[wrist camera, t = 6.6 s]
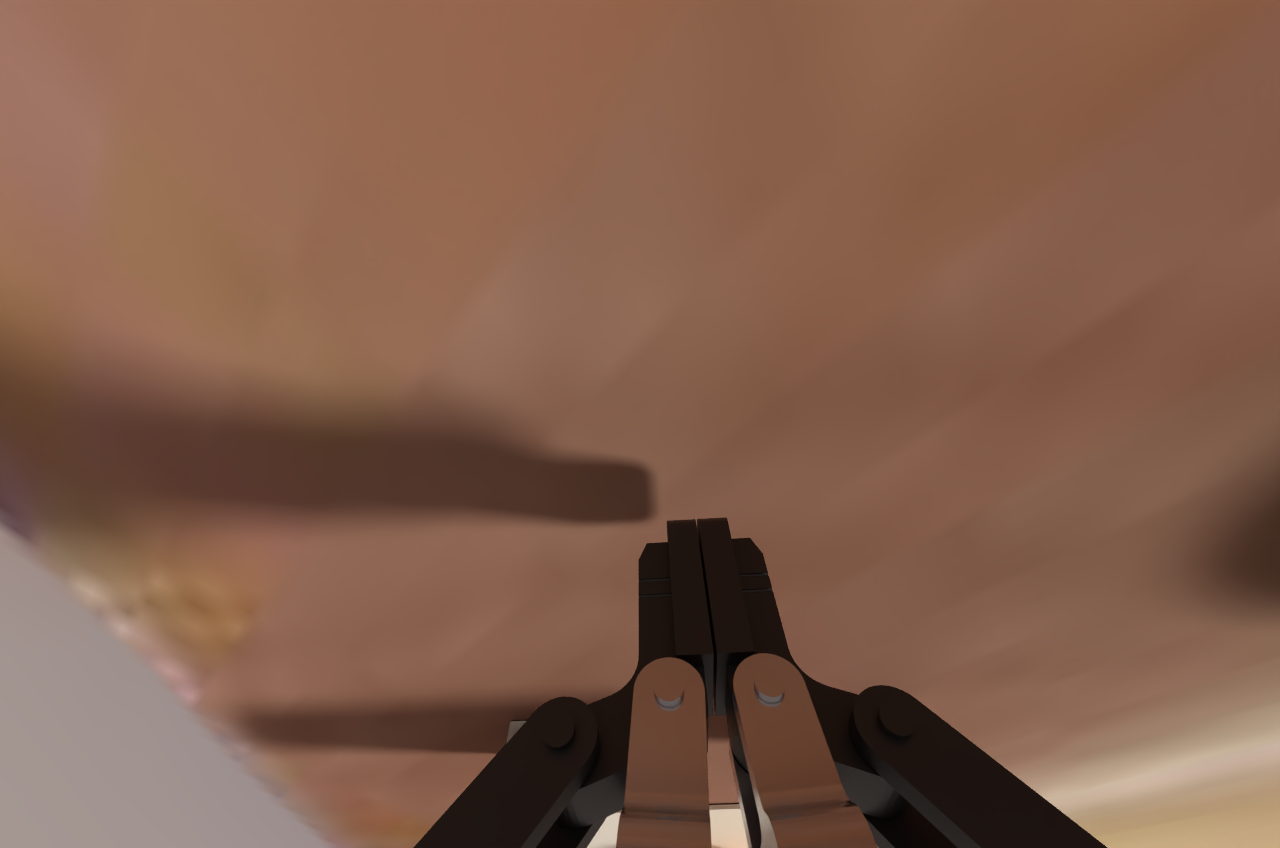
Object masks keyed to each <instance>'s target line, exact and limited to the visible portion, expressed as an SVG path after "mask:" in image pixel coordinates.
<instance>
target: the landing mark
mask: <svg viewBox="0 0 1280 848" xmlns="http://www.w3.org/2000/svg"><path fill="white" fill-rule="evenodd" d="M621 811H622V810H621ZM621 811H619V812H617V813H615V814H612V815H610V816H608V817H607V818H606V819H605V821H604V823H603V824H602V826H601V827H600V829H599V830H598V832H597V833H596V835H595V836H594V838H593V839H592V841H591V842H590V844H589V845H588V847H587V848H616V842H617V832H618V824H619V818H620V814H621ZM709 812H710V824H711V846H712V848H748V843H747V838H746V833H745V828H744V824H743V819H742V814H741V809H740V804H727V805H709Z"/></svg>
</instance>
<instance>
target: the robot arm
mask: <svg viewBox="0 0 1280 848" xmlns="http://www.w3.org/2000/svg"><path fill="white" fill-rule="evenodd" d="M667 535H668V542H663V543H647V544H646V546H645V548H644V550H643V552H642V554H641V557H640V559H639V661H638V665H637V668H636V671H635V673H634V675H633V677H632V678H631V680H630V681H629V682H628V683H627V685H625V686H624V687H623V688H622V689H621V690H619V691H618V692H616V693H615V694H613V695H611V696H608V697H606V698H603V699H601V700H598V701H596V702H593V703H591V704H588V705H587V704H586V703H584V702H583V701H581V700H579V699H576V698H572V697H559V698H555V699H552V700H550V701H548V702H546V703H544V704H543V705H542V706H540V707H539V708H538V709H537V710H536V711H535V712H534V713H533V714H532V715H531V716H530V718H529V719H528V720H527V721H526V722H525V723H524V724H523V725H522V726H521V728H520V729H519V730H518V731H517V732H516V733H515V734H514V735H513V737H512V738H511V739H510V740H509V741H508V742H507V743H506V744H505V746H504V747H503V748H502V749H501V750H500V751H499V752H498V753H497V755H496V756H495V757H494V758H493V759H492V760H491V761H490V762H489V764H488V765H487V766H486V767H485V768H484V769H483V770H482V771H481V773H480V774H479V775H478V776H477V777H476V778H475V779H474V780H473V782H472V783H471V784H470V785H469V786H468V787H467V788H466V789H465V791H464V792H463V793H462V794H461V795H460V796H459V797H458V798H457V799H456V801H455V802H454V803H453V804H452V805H451V806H450V807H449V808H448V810H447V811H446V812H445V813H444V814H443V815H442V816H441V817H440V819H439V820H438V821H437V822H436V823H435V824H434V825H433V826H432V828H431V829H430V830H429V831H428V832H427V833H426V834H425V835H424V837H423V838H422V839H421V840H420V841H419V842H418V843H417V844H416V846H415V847H414V848H587V847H588V845H589V844H590V842H591V841H592V839H593V838H594V836H595V835H596V833H597V832H598V830H599V829H600V827H601V826H602V824H603V823H604V821H605V819H606V818H607V817H608V816H610V815H612V814H615V813H617V812H619V811H621V810H622V811H621V814H620V818H619V824H618V832H617V842H616V848H712V846H711V824H710V812H709V789H708V762H707V752H708V716H712V711H713V700H714V708H715V715H726V717H727V724H728V731H729V738H730V742H729V755H730V761H731V766H732V770H733V775H734V780H735V785H736V790H737V795H738V799H739V804H740V809H741V814H742V819H743V824H744V828H745V833H746V838H747V843H748V848H877V846H878V847H879V848H1107V847H1106V846H1105V845H1103V844H1102V843H1101V842H1099V841H1098V840H1097V839H1096V838H1094V837H1093V836H1092V835H1090V834H1089V833H1088V832H1087V831H1085V830H1084V829H1083V828H1081V827H1080V826H1079V825H1078V824H1076V823H1075V822H1074V821H1072V820H1071V819H1070V818H1069V817H1067V816H1066V815H1065V814H1063V813H1062V812H1061V811H1060V810H1058V809H1057V808H1056V807H1054V806H1053V805H1052V804H1051V803H1049V802H1048V801H1047V800H1045V799H1044V798H1043V797H1042V796H1040V795H1039V794H1038V793H1036V792H1035V791H1034V790H1033V789H1031V788H1030V787H1029V786H1027V785H1026V784H1025V783H1024V782H1022V781H1021V780H1020V779H1018V778H1017V777H1016V776H1015V775H1013V774H1012V773H1011V772H1009V771H1008V770H1007V769H1005V768H1004V767H1003V766H1002V765H1000V764H999V763H998V762H996V761H995V760H994V759H993V758H991V757H990V756H989V755H987V754H986V753H985V752H984V751H982V750H981V749H980V748H978V747H977V746H976V745H975V744H973V743H972V742H971V741H969V740H968V739H967V738H966V737H964V736H963V735H962V734H960V733H959V732H958V731H957V730H955V729H954V728H953V727H951V726H950V725H949V724H948V723H946V722H945V721H944V720H942V719H941V718H940V717H939V716H937V715H936V714H935V713H933V712H932V711H931V710H930V709H928V708H927V707H926V706H924V705H923V704H922V703H921V702H919V701H918V700H917V699H915V698H914V697H913V696H911V695H910V694H908V693H906V692H904V691H902V690H900V689H897V688H895V687H891V686H884V685H879V686H872V687H869V688H867V689H865V690H864V691H862V692H861V693H860V694H859V695H857V694H854V693H850V692H846V691H843V690H839V689H836V688H832V687H829V686H826V685H823V684H821V683H819V682H817V681H815V680H813V679H812V678H810V677H809V676H808V675H806V674H805V673H804V672H803V671H802V670H801V669H800V668H799V667H798V666H797V664H796V663H795V662H794V660H793V658H792V656H791V654H790V652H789V649H788V645H787V642H786V638H785V634H784V631H783V627H782V623H781V619H780V616H779V612H778V608H777V605H776V601H775V597H774V594H773V592H772V586H771V582H770V579H769V576H768V571H767V568H766V564H765V560H764V557H763V553H762V552H761V551H760V550H759V549H758V547H757V546H756V545H755V544H754V542H753V541H752V540H751V539H750V538H738V539H731V534H730V529H729V525H728V521H727V518H709V519H697V527H696V521H695V519H693V520H674V521H667Z"/></svg>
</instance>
